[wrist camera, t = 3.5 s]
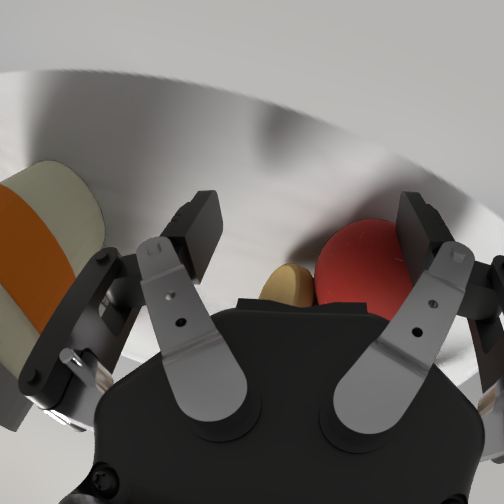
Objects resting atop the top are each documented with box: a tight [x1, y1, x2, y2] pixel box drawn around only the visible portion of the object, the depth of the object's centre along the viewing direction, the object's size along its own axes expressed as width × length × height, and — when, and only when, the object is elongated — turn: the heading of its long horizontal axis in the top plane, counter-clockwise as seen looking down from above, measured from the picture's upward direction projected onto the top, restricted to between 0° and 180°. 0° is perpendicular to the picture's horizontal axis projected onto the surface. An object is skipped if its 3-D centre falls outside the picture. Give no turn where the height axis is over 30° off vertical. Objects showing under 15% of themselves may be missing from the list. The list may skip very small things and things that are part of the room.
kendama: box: [259, 219, 413, 321], centre depth 18 cm, size 8×6×18 cm
